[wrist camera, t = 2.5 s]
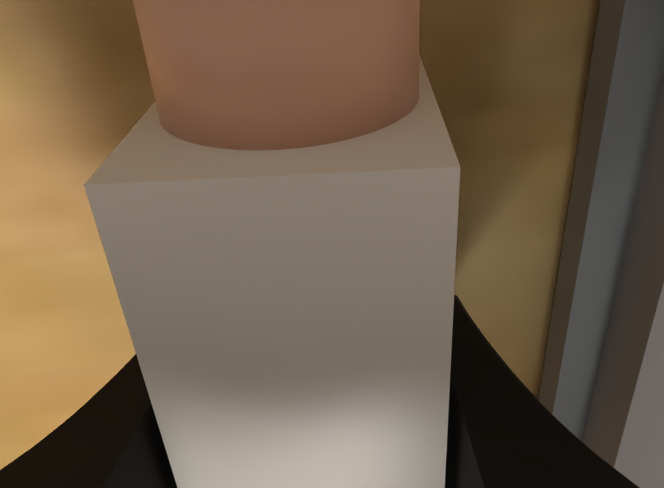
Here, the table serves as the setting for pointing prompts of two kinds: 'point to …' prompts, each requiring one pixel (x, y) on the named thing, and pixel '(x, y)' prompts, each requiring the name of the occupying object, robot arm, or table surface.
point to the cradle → (615, 254)
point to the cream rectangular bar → (288, 243)
